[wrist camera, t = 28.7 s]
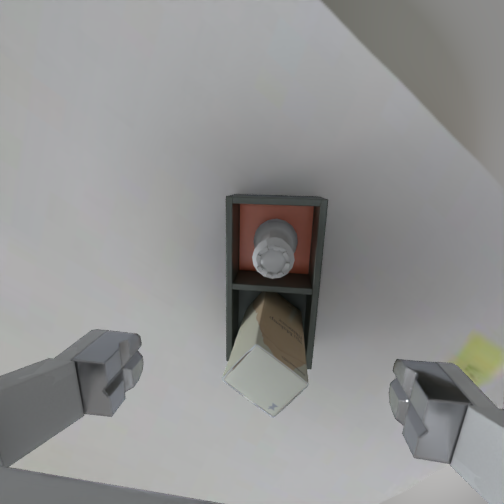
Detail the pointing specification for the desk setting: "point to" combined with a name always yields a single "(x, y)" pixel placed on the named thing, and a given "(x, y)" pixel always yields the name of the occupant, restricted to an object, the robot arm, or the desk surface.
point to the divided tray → (289, 286)
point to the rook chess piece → (274, 248)
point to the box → (269, 354)
